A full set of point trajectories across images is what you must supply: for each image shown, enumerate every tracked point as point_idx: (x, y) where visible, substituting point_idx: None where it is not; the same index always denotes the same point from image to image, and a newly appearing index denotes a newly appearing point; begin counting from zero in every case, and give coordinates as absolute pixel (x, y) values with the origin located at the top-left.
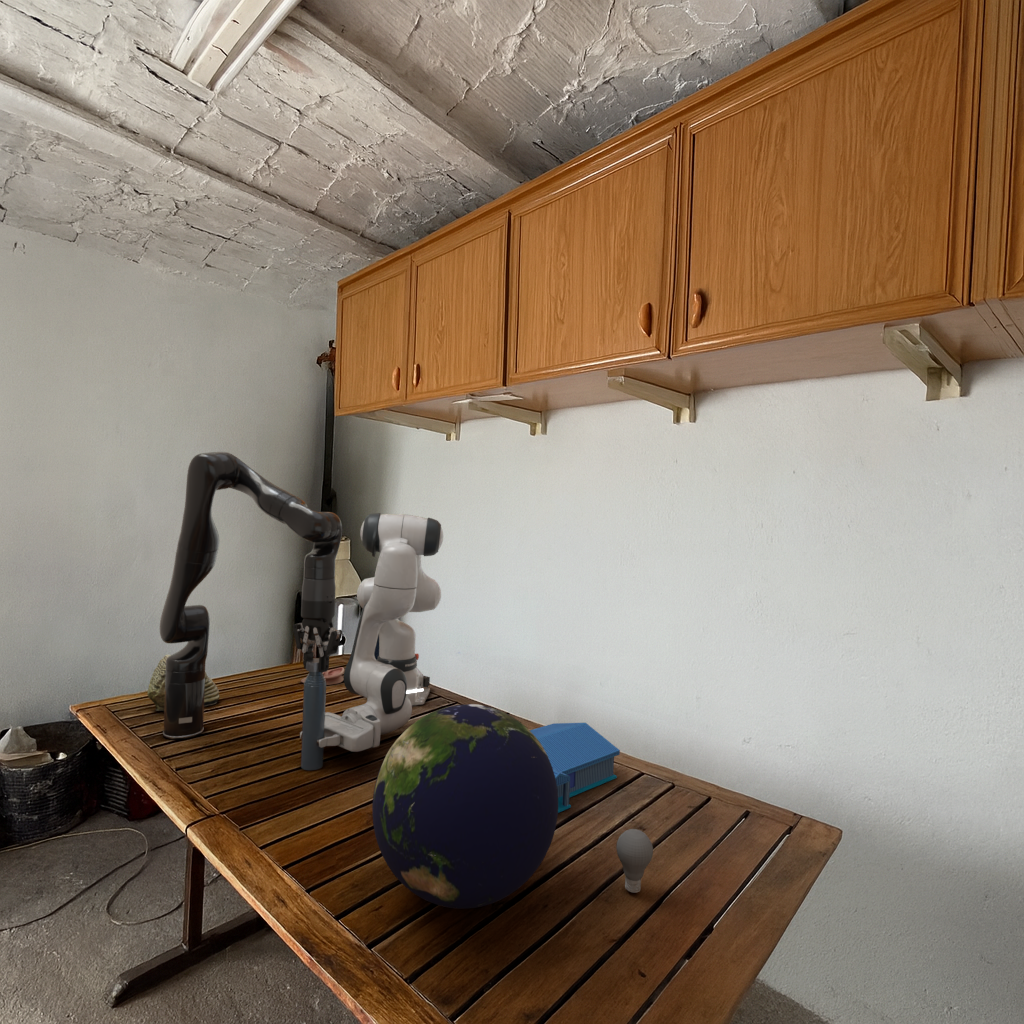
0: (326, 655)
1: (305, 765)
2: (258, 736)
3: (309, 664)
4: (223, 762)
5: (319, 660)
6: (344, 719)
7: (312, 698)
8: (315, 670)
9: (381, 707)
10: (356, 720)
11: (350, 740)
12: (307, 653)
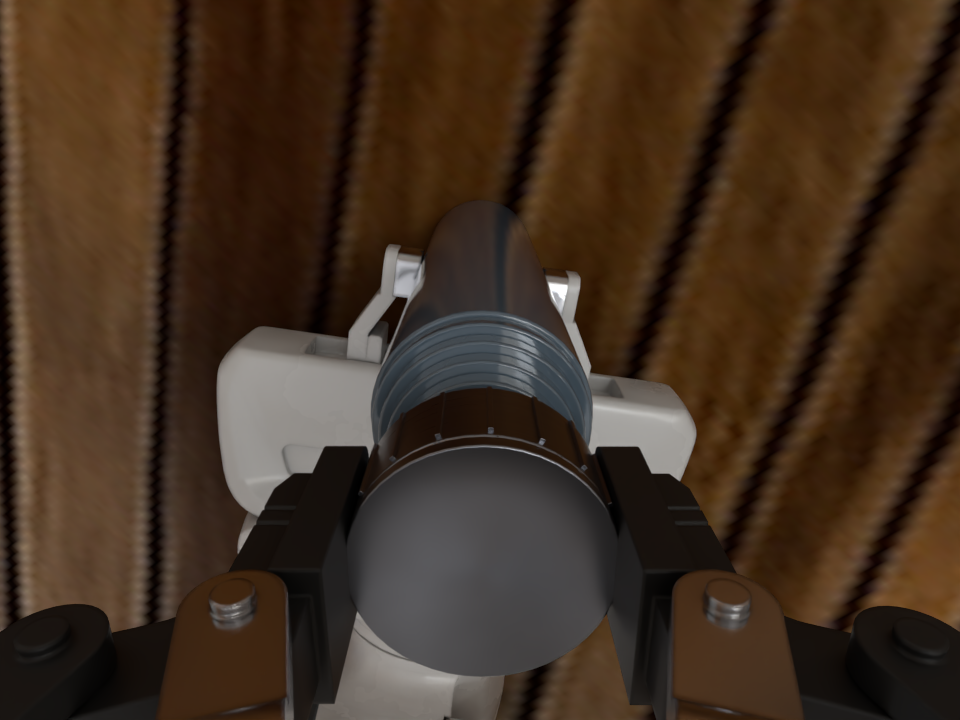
0: (161, 624)
1: (471, 203)
2: (947, 352)
3: (477, 430)
4: (886, 32)
5: (326, 531)
6: None
7: (425, 296)
8: (396, 427)
9: None
10: None
11: (254, 343)
12: (653, 600)
